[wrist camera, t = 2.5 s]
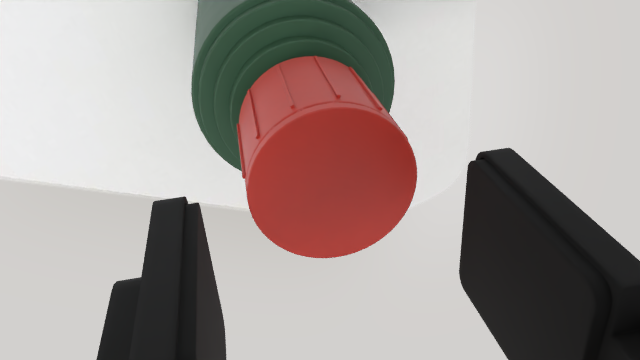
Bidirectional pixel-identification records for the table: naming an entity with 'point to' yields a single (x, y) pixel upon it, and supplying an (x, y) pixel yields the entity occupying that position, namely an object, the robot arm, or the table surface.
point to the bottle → (275, 54)
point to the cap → (322, 159)
